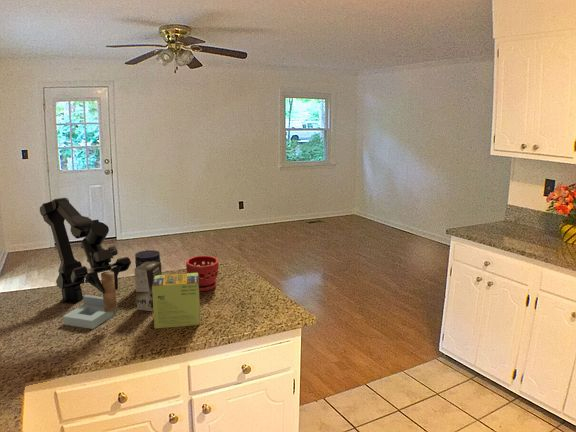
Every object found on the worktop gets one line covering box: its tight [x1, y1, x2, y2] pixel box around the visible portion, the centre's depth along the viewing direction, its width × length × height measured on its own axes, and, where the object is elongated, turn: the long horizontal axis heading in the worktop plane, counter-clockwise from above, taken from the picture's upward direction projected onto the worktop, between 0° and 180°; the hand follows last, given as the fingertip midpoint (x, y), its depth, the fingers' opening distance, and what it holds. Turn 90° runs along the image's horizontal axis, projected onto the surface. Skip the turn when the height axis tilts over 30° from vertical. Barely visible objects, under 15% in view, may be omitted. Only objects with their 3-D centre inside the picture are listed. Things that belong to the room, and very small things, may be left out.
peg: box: [100, 270, 118, 312], centre depth 148 cm, size 4×4×13 cm
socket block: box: [62, 294, 117, 330], centre depth 155 cm, size 12×12×6 cm
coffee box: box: [134, 261, 163, 312], centre depth 166 cm, size 9×6×16 cm
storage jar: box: [134, 249, 161, 268], centre depth 182 cm, size 10×10×15 cm
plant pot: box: [185, 255, 219, 292], centre depth 184 cm, size 13×13×12 cm
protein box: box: [152, 272, 201, 329], centre depth 154 cm, size 10×15×16 cm
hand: (110, 291), depth 147 cm, fingers closed on peg, 4 cm apart
